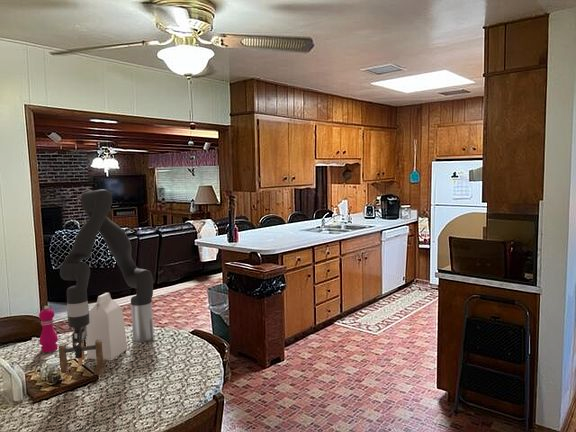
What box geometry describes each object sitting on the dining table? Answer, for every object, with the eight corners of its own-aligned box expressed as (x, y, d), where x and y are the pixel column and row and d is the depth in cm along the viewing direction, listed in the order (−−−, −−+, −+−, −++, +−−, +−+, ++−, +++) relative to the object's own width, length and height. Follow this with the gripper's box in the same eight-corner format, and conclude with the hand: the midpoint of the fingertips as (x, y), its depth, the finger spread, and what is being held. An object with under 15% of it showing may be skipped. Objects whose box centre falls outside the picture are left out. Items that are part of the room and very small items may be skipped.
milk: (111, 359, 182) (107, 299, 180) (87, 358, 184) (82, 298, 182) (127, 348, 194) (123, 291, 191) (104, 347, 196) (100, 290, 194)
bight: (85, 358, 173) (83, 340, 173) (82, 364, 168) (80, 346, 167) (81, 359, 173) (79, 341, 172) (78, 365, 167) (76, 346, 167)
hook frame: (106, 364, 178) (104, 335, 177) (102, 374, 168) (100, 344, 167) (63, 369, 174) (60, 340, 173) (56, 381, 164) (54, 350, 163)
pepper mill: (52, 352, 191) (49, 308, 189) (36, 353, 191) (33, 308, 190) (61, 346, 198) (58, 303, 197) (46, 346, 199) (42, 303, 197)
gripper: (85, 317, 163) (88, 359, 164) (91, 306, 176) (94, 345, 178) (63, 319, 161) (66, 362, 162) (71, 308, 175) (74, 348, 176)
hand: (81, 353), depth 170 cm, fingers open, 8 cm apart
